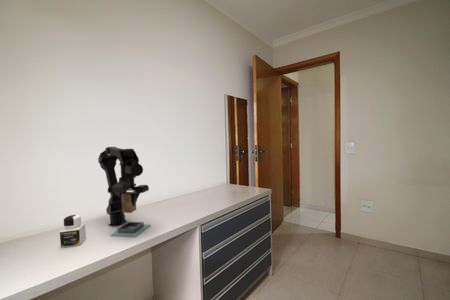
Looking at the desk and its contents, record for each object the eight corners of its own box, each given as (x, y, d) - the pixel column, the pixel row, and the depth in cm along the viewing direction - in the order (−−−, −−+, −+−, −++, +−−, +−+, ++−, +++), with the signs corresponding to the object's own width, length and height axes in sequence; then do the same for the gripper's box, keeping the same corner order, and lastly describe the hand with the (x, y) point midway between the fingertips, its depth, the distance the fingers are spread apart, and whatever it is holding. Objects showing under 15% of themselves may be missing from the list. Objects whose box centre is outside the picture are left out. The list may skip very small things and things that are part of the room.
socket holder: (110, 236, 97) (110, 230, 96) (127, 224, 109) (127, 220, 109) (135, 236, 95) (135, 231, 94) (150, 225, 107) (150, 220, 107)
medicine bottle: (60, 248, 87) (58, 220, 86) (68, 240, 93) (66, 214, 93) (80, 245, 89) (78, 217, 88) (86, 238, 95) (84, 212, 95)
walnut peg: (122, 212, 99) (121, 194, 99) (128, 209, 104) (127, 191, 103) (130, 212, 99) (129, 194, 98) (136, 209, 103) (135, 191, 103)
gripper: (97, 177, 94) (99, 211, 95) (135, 177, 91) (136, 212, 92) (114, 173, 105) (116, 203, 106) (148, 173, 102) (150, 204, 103)
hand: (129, 206), depth 101 cm, fingers closed on walnut peg, 4 cm apart
